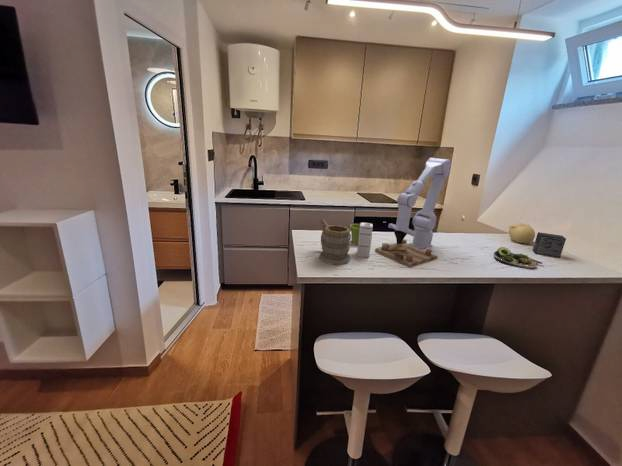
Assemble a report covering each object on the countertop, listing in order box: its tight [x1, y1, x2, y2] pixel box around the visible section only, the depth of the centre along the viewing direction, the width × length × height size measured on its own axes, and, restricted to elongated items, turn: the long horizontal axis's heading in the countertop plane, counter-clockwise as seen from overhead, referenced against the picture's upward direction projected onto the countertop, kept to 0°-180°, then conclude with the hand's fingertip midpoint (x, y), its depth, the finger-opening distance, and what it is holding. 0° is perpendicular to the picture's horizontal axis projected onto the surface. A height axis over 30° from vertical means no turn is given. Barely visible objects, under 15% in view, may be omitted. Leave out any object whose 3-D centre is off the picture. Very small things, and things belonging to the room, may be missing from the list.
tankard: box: [319, 218, 352, 266], centre depth 127 cm, size 20×13×15 cm, turn 27°
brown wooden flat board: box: [374, 238, 438, 268], centre depth 135 cm, size 20×20×4 cm
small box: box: [531, 232, 567, 259], centre depth 147 cm, size 11×6×10 cm, turn 65°
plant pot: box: [349, 223, 360, 245], centre depth 147 cm, size 9×9×9 cm
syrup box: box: [356, 222, 374, 258], centre depth 131 cm, size 6×6×14 cm
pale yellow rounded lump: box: [508, 222, 536, 245], centre depth 165 cm, size 11×12×11 cm
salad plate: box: [493, 246, 543, 269], centre depth 136 cm, size 19×18×5 cm
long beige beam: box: [381, 242, 408, 250], centre depth 137 cm, size 12×3×2 cm, turn 96°
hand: (398, 245), depth 140 cm, fingers closed, pressing on long beige beam
